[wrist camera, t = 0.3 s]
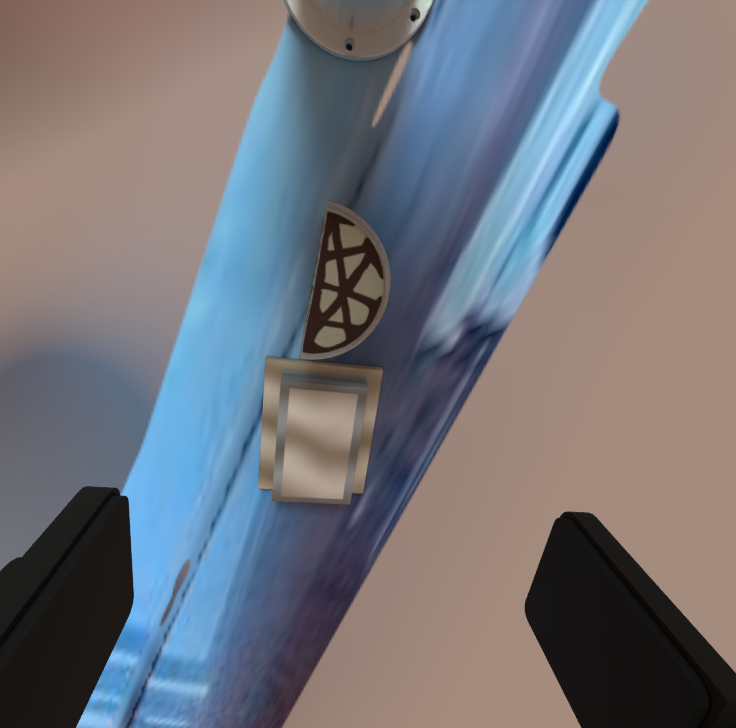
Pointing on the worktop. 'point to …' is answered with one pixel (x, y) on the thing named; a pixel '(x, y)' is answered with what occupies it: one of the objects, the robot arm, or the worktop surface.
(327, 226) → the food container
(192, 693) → the worktop surface
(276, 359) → the beige rectangular frame
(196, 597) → the worktop surface
